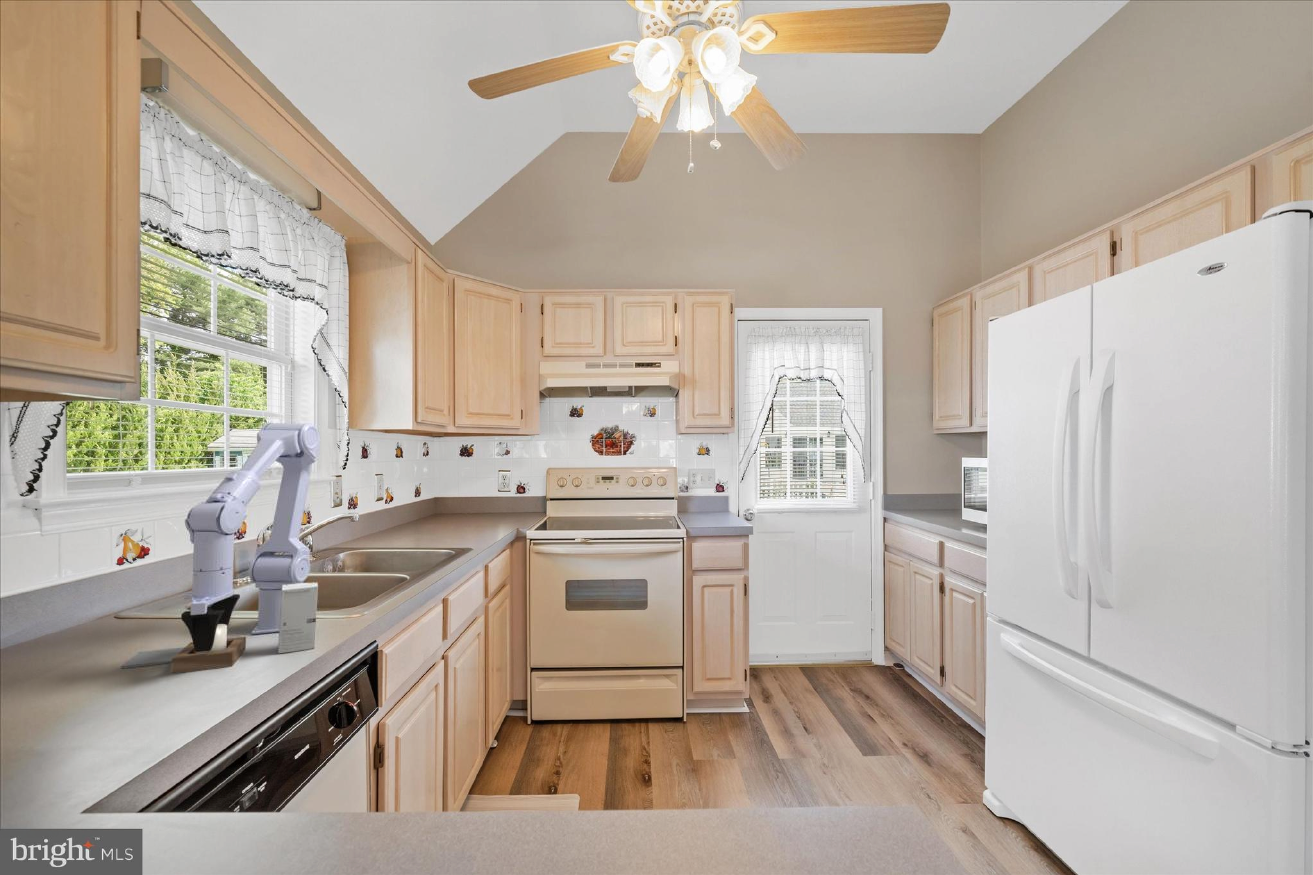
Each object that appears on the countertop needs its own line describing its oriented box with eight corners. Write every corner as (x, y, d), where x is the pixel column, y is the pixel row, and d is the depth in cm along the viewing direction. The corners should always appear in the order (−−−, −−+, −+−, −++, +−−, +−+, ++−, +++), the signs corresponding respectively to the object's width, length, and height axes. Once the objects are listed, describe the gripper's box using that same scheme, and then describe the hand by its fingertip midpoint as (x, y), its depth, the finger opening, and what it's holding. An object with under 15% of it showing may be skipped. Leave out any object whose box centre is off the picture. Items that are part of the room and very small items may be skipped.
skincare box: (277, 654, 102) (279, 590, 102) (278, 647, 106) (280, 584, 106) (316, 648, 105) (318, 585, 105) (315, 641, 109) (317, 580, 109)
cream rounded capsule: (199, 658, 99) (200, 625, 100) (229, 655, 101) (230, 622, 101) (190, 667, 95) (191, 633, 96) (221, 664, 97) (222, 630, 97)
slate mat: (139, 654, 101) (139, 651, 101) (186, 648, 104) (187, 646, 104) (120, 668, 94) (120, 666, 94) (171, 662, 97) (171, 660, 97)
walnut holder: (190, 655, 100) (190, 642, 101) (245, 649, 104) (245, 636, 104) (171, 673, 93) (172, 658, 93) (231, 666, 96) (232, 652, 96)
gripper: (200, 561, 104) (198, 632, 103) (168, 579, 90) (166, 661, 90) (245, 559, 106) (243, 628, 106) (221, 575, 93) (218, 655, 93)
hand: (211, 643), depth 98 cm, fingers open, 7 cm apart
